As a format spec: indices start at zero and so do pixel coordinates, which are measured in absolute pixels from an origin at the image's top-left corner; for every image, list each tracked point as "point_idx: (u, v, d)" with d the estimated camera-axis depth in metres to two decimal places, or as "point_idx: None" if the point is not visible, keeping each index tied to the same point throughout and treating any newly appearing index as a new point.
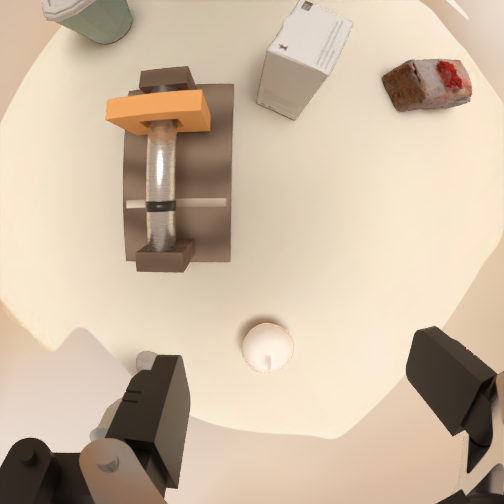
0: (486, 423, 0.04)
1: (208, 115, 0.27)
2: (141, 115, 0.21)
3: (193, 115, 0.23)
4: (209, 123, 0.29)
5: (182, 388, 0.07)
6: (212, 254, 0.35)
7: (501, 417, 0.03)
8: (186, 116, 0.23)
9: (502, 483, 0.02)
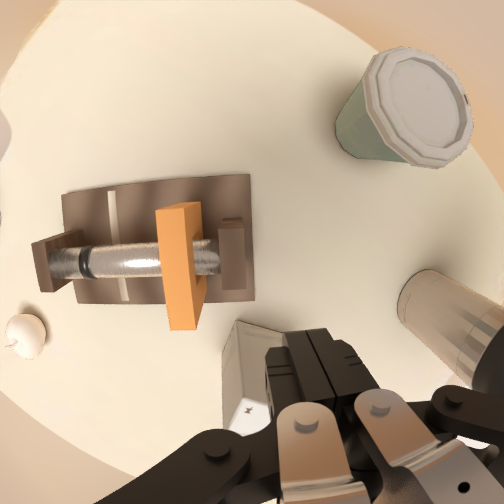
0: (348, 444, 0.05)
1: None
2: (161, 260, 0.19)
3: None
4: None
5: None
6: (79, 287, 0.30)
7: (384, 457, 0.03)
8: None
9: None
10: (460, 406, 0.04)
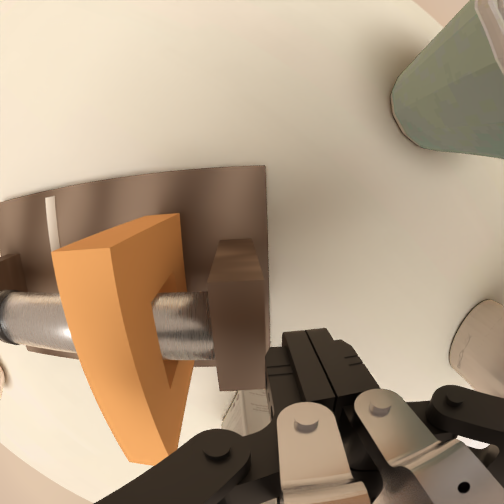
0: (348, 444, 0.05)
1: None
2: (84, 358, 0.07)
3: None
4: None
5: None
6: None
7: (384, 457, 0.03)
8: None
9: None
10: (460, 406, 0.04)
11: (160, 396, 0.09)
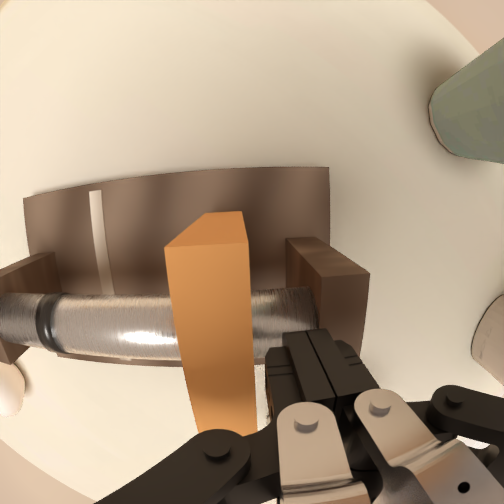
0: (349, 444, 0.05)
1: None
2: (184, 364, 0.07)
3: None
4: None
5: None
6: None
7: (384, 457, 0.03)
8: None
9: None
10: (460, 406, 0.04)
11: None
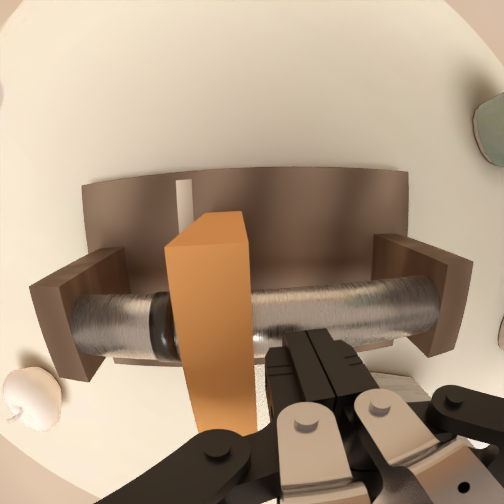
0: (348, 444, 0.05)
1: None
2: (184, 364, 0.07)
3: None
4: None
5: None
6: None
7: (384, 457, 0.03)
8: None
9: None
10: (460, 406, 0.04)
11: None
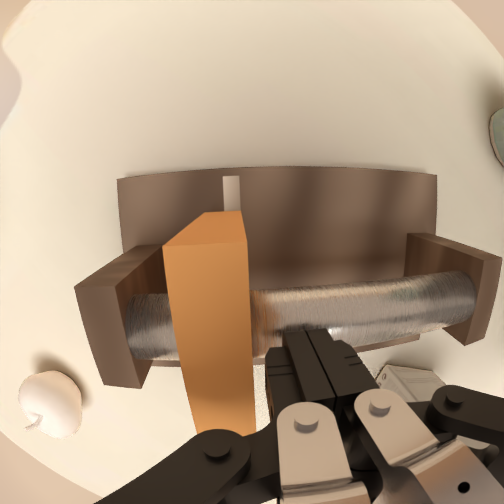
0: (348, 444, 0.05)
1: None
2: (183, 365, 0.07)
3: None
4: None
5: None
6: None
7: (384, 457, 0.03)
8: None
9: None
10: (460, 406, 0.04)
11: None
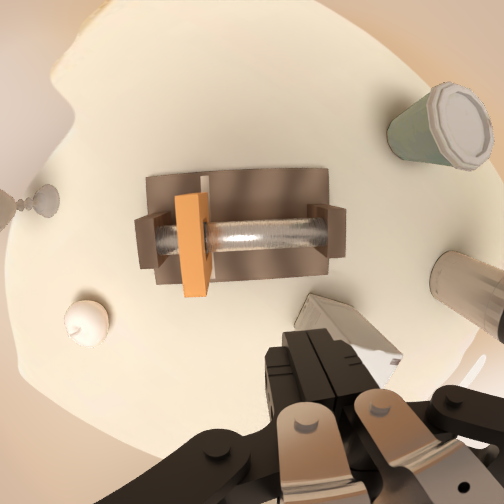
0: (348, 444, 0.05)
1: None
2: (178, 237, 0.24)
3: None
4: None
5: None
6: (161, 268, 0.35)
7: (384, 457, 0.03)
8: None
9: None
10: (460, 406, 0.04)
11: (204, 258, 0.25)
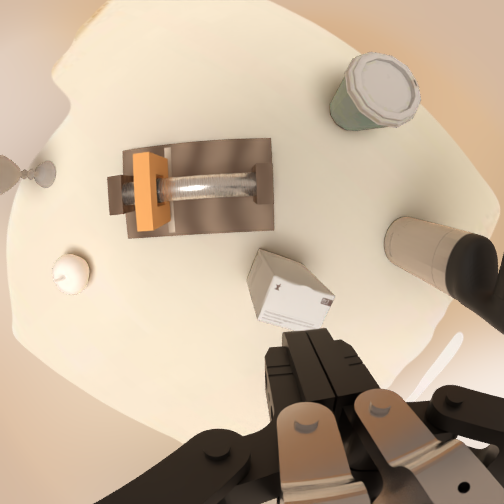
0: (348, 444, 0.05)
1: None
2: (134, 184, 0.29)
3: None
4: None
5: None
6: (132, 224, 0.41)
7: (384, 457, 0.03)
8: None
9: None
10: (460, 406, 0.04)
11: (154, 201, 0.31)
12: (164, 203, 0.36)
